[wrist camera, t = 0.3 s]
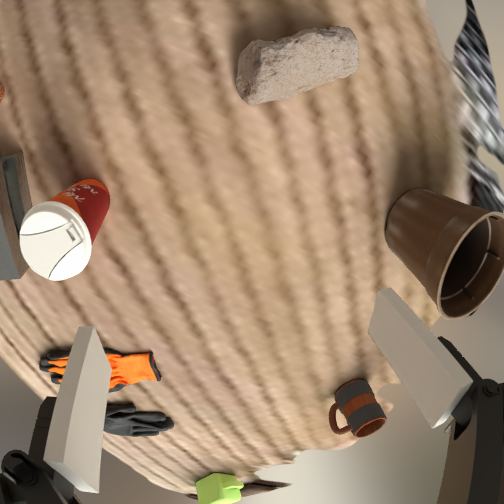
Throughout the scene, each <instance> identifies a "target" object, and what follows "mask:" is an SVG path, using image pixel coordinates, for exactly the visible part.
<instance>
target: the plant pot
mask: <svg viewBox="0 0 504 504" xmlns="http://www.w3.org/2000/svg"><path fill="white" fill-rule="evenodd" d="M387 221H388V225H387V229H386V231H385V236H386V241H387V244H388V246H389V248H390V249H391V251H392V252H393V253H394V254H395V255H396V256H397V257H398V258H399V259H400V260H401V261H402V262H403V263H404V264H405V265H406V267H407V268H408V269H409V270H410V271H411V272H412V273H413V274H414V275H415V277H416V278H417V279H418V280H419V281H420V282H421V284H422V285H423V286H424V287H425V288H426V291H427V293H428V295H429V296H430V297H431V299H432V300H433V301H434V302H435V304H436V305H437V309H438V311H439V312H440V314H441V315H442V316H443V317H444V318H445V319H448V320H458V319H461V318H463V317H465V316H467V315H469V314H470V313H472V312H473V311H475V310H476V309H477V308H478V307H479V306H480V305H482V303H483V302H484V301H485V300H486V299H487V298H488V297H489V295H490V294H491V293H492V291H493V290H494V288H495V287H496V285H497V284H498V282H499V280H500V278H501V276H502V274H503V272H504V214H503V213H501V212H498V211H488V210H485V209H483V208H480V207H476V206H474V207H472V206H469V205H467V204H464V203H462V202H459V201H456V200H454V199H451V198H449V197H446V196H443V195H441V194H438V193H435V192H432V191H430V190H427V189H412V190H410V191H408V192H406V193H405V194H404V195H403V196H401V197H400V198H399V199H398V201H397V202H396V203H395V204H394V206H393V208H392V209H391V211H390V213H389V216H388V219H387Z"/></svg>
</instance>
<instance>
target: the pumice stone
mask: <svg viewBox="0 0 504 504" xmlns="http://www.w3.org/2000/svg"><path fill="white" fill-rule="evenodd" d="M358 50H359V46H358V41H357V39H356V36H355V34H354V33H353V32H352V30H351V29H350V28H346V27H340V26H336V27H330V28H327V29H316V28H312V29H304V30H301V31H299V32H298V33H296V34H294V35H292V36H290V37H284V38H280V39H277V41H276V42H275V41H262V40H261V39H259V40H254V41H252V42H250V43H249V45H248V46H247V47H246V48H244V49H243V51H242V52H241V54H240V56H239V60H238V74H237V79H236V87H237V90H238V93H239V95H240V97H241V98H242V99H243V100H244V101H246V102H247V103H248V104H250V105H255V104H260V103H264V102H269V101H274V100H279V99H289V98H292V97H294V96H295V95H297V94H300V93H303V92H305V91H307V90H311V89H313V88H315V87H319V86H320V85H322V84H326V83H330V82H333V81H334V80H335V79H338V78H345V77H347V76H348V75H350V74H351V73H354V72H355V71H357V69H358V64H359V53H358Z"/></svg>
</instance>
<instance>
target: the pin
mask: <svg viewBox="0 0 504 504" xmlns="http://www.w3.org/2000/svg"><path fill="white" fill-rule="evenodd" d="M3 96H4V87H3V85H2V84H1V83H0V102H1V101H2V99H3Z"/></svg>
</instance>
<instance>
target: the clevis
mask: <svg viewBox="0 0 504 504" xmlns="http://www.w3.org/2000/svg"><path fill="white" fill-rule="evenodd" d="M31 208H32V203H31V198H30V193H29V187H28V182H27V176H26V170H25V163H24V156H23V152H19V153H16V154H12V155H9V156H5V157H2V158H0V280H11V279H20V278H21V277H22V276H23V274H24V273H25V272H26V270H27V269H28V268H29V267H30V266H29V265H28V263H27V262H26V260H25V259H24V257H23V255H22V252H21V248H20V230H21V225H22V222H23V219H24V217H25V215H26V214H27V212H28V211H29V210H30V209H31Z"/></svg>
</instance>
